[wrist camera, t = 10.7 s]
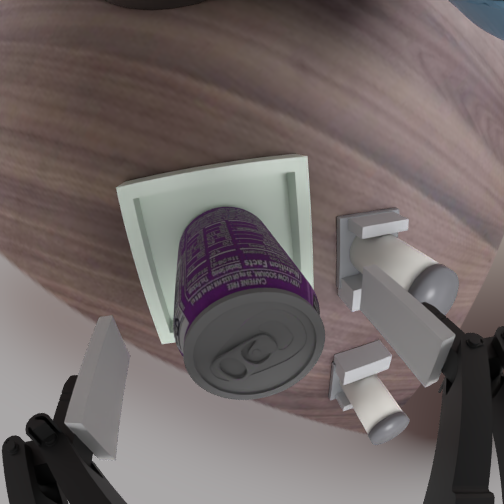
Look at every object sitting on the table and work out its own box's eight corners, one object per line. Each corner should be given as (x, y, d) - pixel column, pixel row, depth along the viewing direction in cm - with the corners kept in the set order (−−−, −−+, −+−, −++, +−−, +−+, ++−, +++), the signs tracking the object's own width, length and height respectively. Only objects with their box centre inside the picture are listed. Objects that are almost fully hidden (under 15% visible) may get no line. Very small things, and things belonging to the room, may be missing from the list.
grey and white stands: (336, 216, 24) (410, 265, 15) (395, 207, 25) (473, 246, 16) (328, 397, 34) (359, 456, 25) (371, 381, 35) (406, 435, 26)
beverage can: (218, 304, 25) (241, 422, 14) (159, 244, 22) (136, 350, 11) (286, 253, 24) (357, 348, 13) (233, 184, 21) (280, 242, 10)
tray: (124, 181, 20) (116, 187, 18) (295, 153, 22) (307, 156, 19) (163, 326, 25) (161, 344, 23) (303, 299, 27) (313, 313, 25)
